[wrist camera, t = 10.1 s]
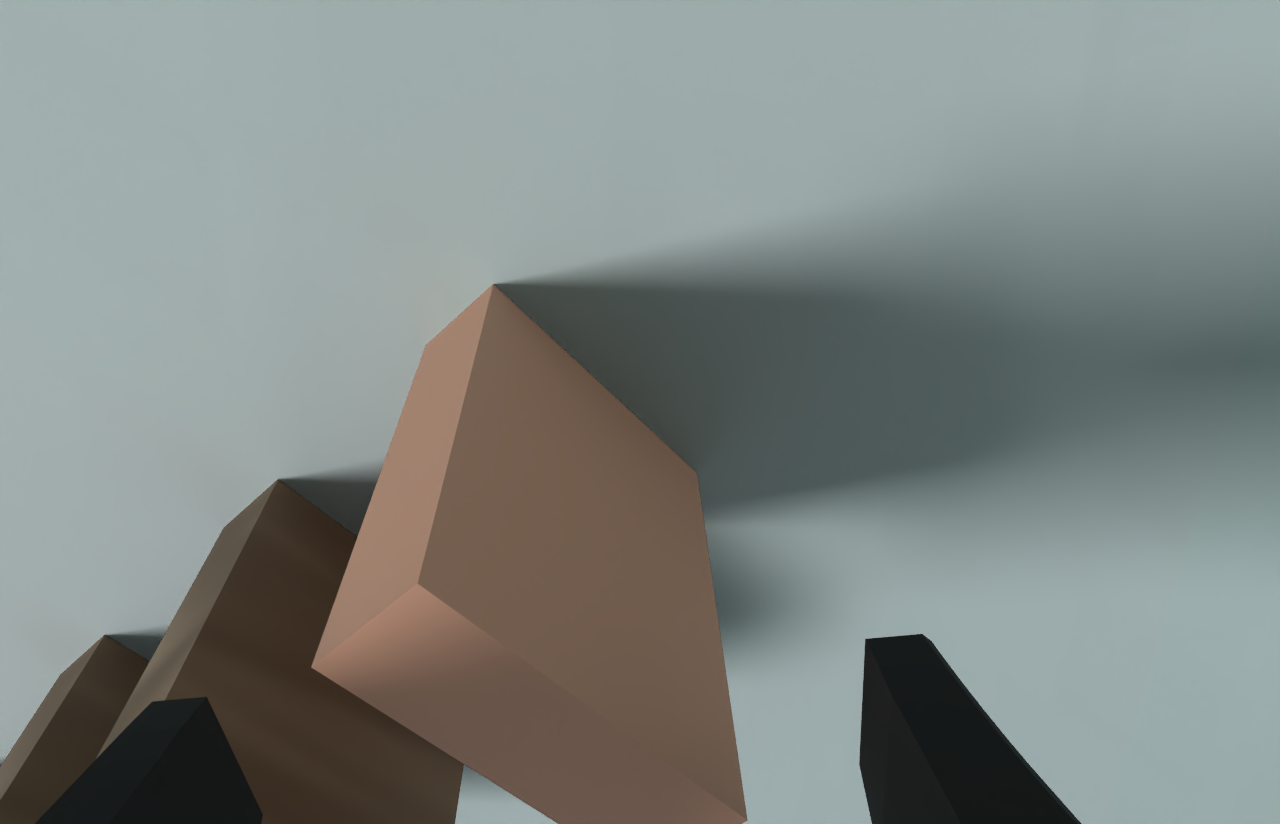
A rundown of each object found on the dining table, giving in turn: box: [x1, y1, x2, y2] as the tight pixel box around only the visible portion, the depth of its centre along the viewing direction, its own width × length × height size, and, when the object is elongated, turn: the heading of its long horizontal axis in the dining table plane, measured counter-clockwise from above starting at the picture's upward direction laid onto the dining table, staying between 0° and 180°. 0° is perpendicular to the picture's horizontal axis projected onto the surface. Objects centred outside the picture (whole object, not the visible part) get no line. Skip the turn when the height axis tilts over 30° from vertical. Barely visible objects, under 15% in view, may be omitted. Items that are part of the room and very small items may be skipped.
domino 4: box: [95, 480, 464, 824], centre depth 15 cm, size 2×5×7 cm, turn 42°
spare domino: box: [311, 284, 747, 824], centre depth 13 cm, size 2×5×7 cm, turn 42°
